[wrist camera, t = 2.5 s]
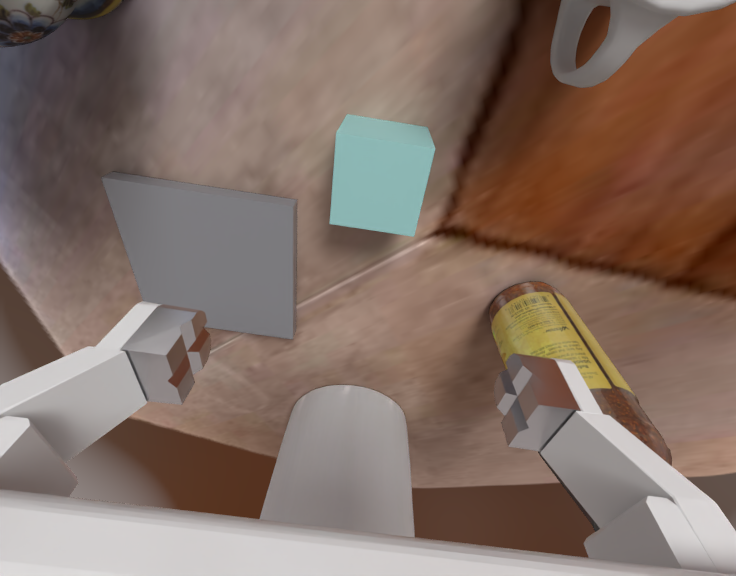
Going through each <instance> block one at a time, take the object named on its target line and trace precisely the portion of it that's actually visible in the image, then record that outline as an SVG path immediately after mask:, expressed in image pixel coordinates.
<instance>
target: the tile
mask: <svg viewBox="0 0 736 576" xmlns="http://www.w3.org/2000/svg"><path fill="white" fill-rule="evenodd" d="M101 179H102V182H103V185H104V188H105V191H106V194H107V197H108V200H109V202H110V205H111V208H112V211H113V214H114V217H115V220H116V223H117V226H118V229H119V232H120V235H121V238H122V240H123V243H124V246H125V249H126V252H127V255H128V258H129V261H130V264H131V267H132V270H133V273H134V276H135V279H136V281H137V284H138V287H139V290H140V293H141V296H142V299H143V301H145V302H151V303H157V304H165V305H171V306H178V307H184V308H190V309H196V310H201V311H203V312H205V314H206V318H207V323H206V325H205V326H204V327H208V328H215V329H222V330H229V331H237V332H244V333H251V334H258V335H265V336H272V337H279V338H287V339H293V338H294V335H295V332H296V279H297V200H295V199H288V198H282V197H275V196H269V195H262V194H256V193H249V192H243V191H236V190H230V189H223V188H216V187H210V186H203V185H197V184H190V183H184V182H177V181H171V180H164V179H157V178H151V177H144V176H138V175H131V174H125V173H118V172H111V173H109V174H107V175H105V176H103V177H101Z"/></svg>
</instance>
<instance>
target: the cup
mask: <svg viewBox="0 0 736 576" xmlns="http://www.w3.org/2000/svg"><path fill="white" fill-rule="evenodd" d="M735 2H736V0H561V4H560V9H559V13H558V17H557V22H556V26H555V31H554V36H553V40H552V45H551V59H550V63H551V67H552V71H553V75H554V76H555V77H556V78H557V79H558V81H560V82H562V83H565V84H568V85H572V86H575V87H580V88H586V87H593V86H595V85H597V84H599V83H601V82H603V81H605V80H607V79H608V78H609V77H610V76H611V75H613V74H614V73H615V72H616V71H617V70H618V69H619V68H620V67H621V66H622V65H623V64H624V63H625V62H626V61H627V59H628V58H629V57H630V56H631V54H632V53H633V52H634V51H635V49H636V48H637V47H638V46H639V45H641V44H642V43H643V42H644V41H645V40H647V39H648V38H649V37H650V36H652V35H653V34H654V33H655V32H656V31H658V30H659V29H660V28H662V27H663V26H665V25H666V24H668V23H669V22H670V21H672V20H673V19H675V18H676V17H678V16H688V15H693V14H698V13H703V12H708V11H713V10H718V9H721V8H724V7H726V6H728V5H730V4H733V3H735ZM599 5H602V6H608V7H611V18H610V23H609V28H608V33H607V37H606V38H605V40H604V41H603V43H602V44H601V46H600V47H599V49H598V50H597V51H596V52H595V54H594V55H593V56H592V57H591V59H590V60H589V61H588V62H587V63H586V64H585V65H583V66H582V67H580V68H578V69H576V63H575V59H576V51H577V45H578V41H579V38H580V34H581V31H582V29H583V27H584V24H585V22H586V20H587V18H588V16H589V15H590V13H591V11H592V10H593V8H595V7H597V6H599Z"/></svg>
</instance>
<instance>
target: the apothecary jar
mask: <svg viewBox="0 0 736 576" xmlns="http://www.w3.org/2000/svg"><path fill="white" fill-rule="evenodd" d="M122 1H123V0H0V47H12V46H18V45H23V44H28V43H32V42H35V41H37V40H39V39H42V38H44V37H46V36H47V35H49V34H50V33H52V32H53V31H55V30H56V29H57V28H58V27H59V26H61V25H62V24H63V23H64V22H65V20H66V19H67V18H71V19H93V18H97V17H101V16H103V15H106V14H108V13H110V12H111V11H113V10H114V9H115V8H116V7H118V6H119V5H120V4H121V2H122Z"/></svg>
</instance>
